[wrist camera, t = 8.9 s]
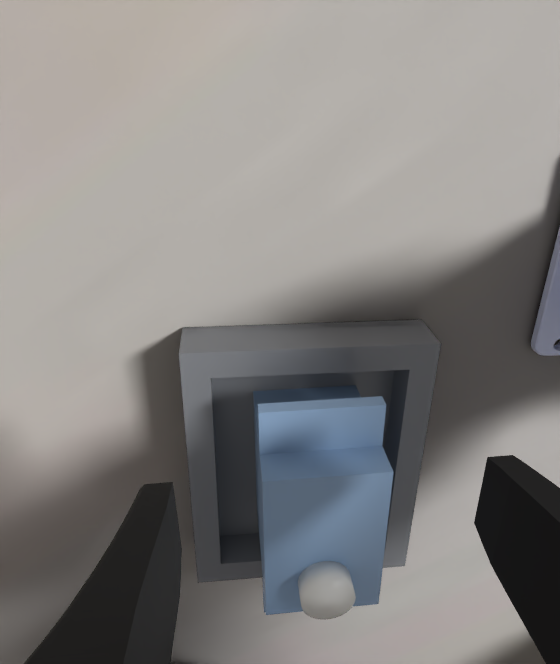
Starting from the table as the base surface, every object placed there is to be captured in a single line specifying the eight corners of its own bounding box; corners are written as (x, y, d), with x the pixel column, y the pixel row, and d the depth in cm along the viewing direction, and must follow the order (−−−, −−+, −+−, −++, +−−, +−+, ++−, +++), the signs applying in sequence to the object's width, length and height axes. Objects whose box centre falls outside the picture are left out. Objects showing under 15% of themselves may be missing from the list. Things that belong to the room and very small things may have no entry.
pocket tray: (421, 319, 20) (441, 343, 18) (391, 530, 25) (404, 565, 23) (182, 327, 19) (178, 353, 17) (199, 544, 24) (197, 582, 22)
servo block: (358, 348, 20) (407, 446, 15) (346, 528, 24) (380, 654, 19) (251, 354, 19) (263, 456, 14) (257, 535, 24) (268, 666, 18)
